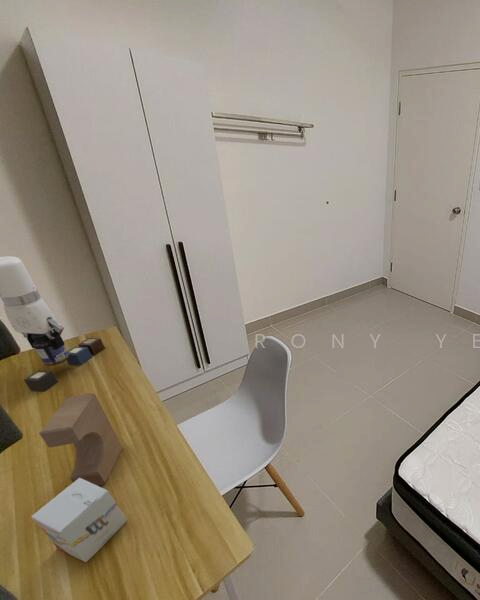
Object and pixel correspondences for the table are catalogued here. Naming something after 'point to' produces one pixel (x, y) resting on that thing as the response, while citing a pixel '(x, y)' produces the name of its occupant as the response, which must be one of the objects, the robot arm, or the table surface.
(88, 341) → the block
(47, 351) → the pill bottle
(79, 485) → the ink box
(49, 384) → the block
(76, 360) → the block
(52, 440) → the decorative block
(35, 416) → the table surface
